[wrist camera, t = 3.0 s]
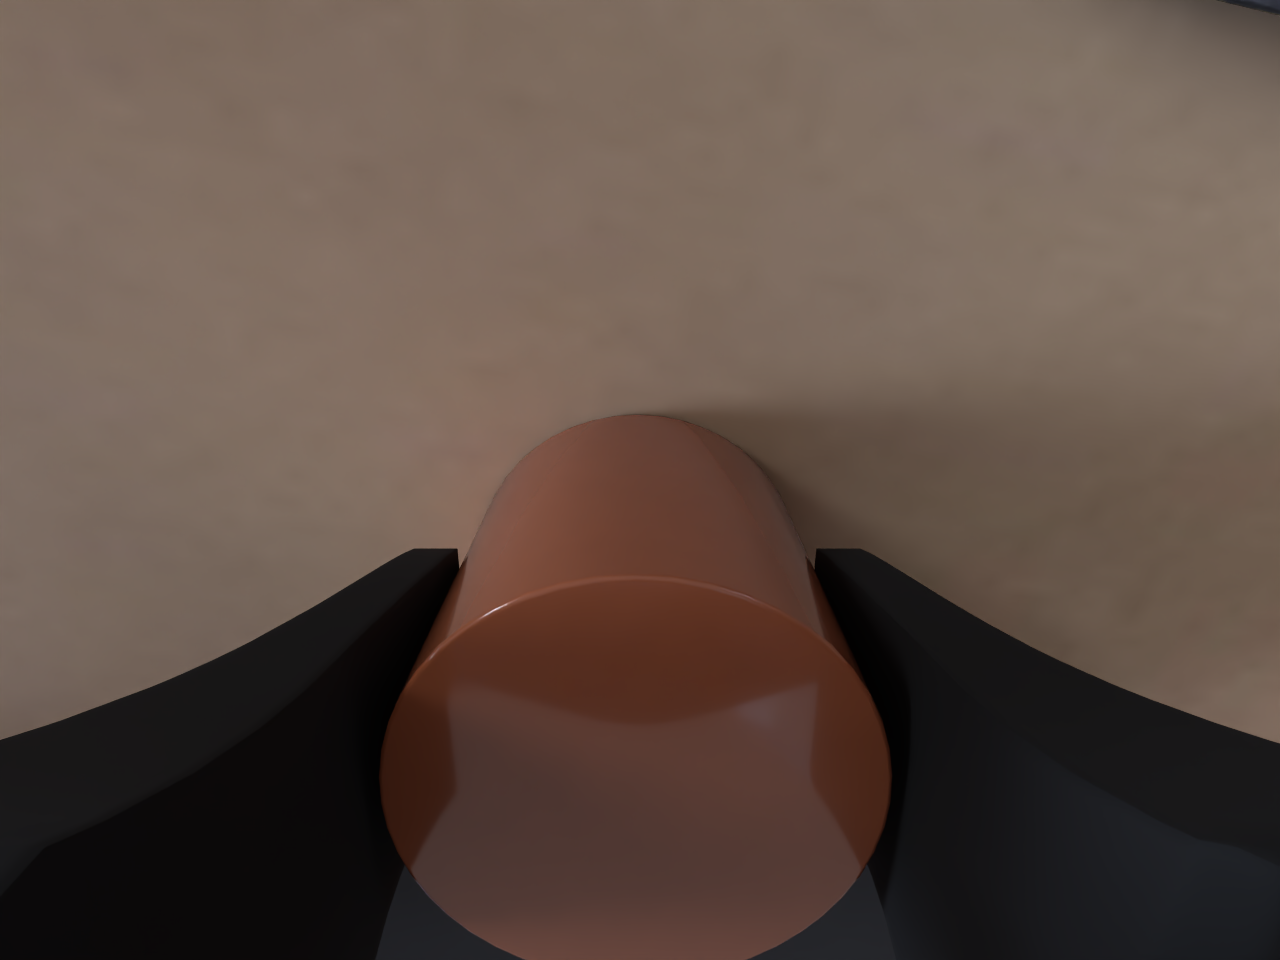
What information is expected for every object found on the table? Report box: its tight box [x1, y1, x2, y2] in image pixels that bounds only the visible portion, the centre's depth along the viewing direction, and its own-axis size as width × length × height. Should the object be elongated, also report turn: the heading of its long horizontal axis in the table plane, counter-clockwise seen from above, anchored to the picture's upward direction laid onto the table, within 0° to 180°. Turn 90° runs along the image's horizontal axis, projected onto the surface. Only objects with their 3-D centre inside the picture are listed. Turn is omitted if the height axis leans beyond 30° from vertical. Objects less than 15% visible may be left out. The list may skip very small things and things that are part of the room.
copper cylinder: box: [379, 415, 893, 960], centre depth 10 cm, size 5×5×5 cm
